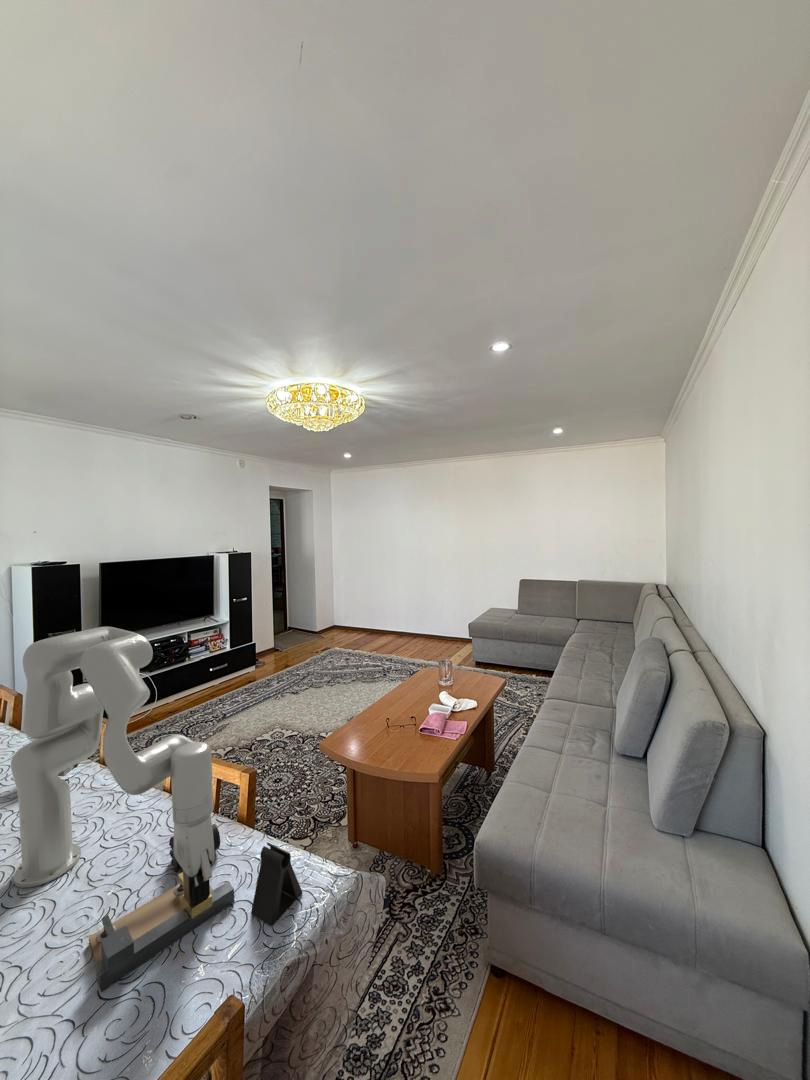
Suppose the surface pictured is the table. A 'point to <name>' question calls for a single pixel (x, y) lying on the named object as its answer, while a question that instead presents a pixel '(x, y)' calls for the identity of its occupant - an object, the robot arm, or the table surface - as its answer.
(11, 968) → the table surface
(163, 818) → the table surface
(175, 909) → the plate
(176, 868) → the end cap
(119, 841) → the table surface
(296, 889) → the black triangular stand
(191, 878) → the block
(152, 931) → the rail
